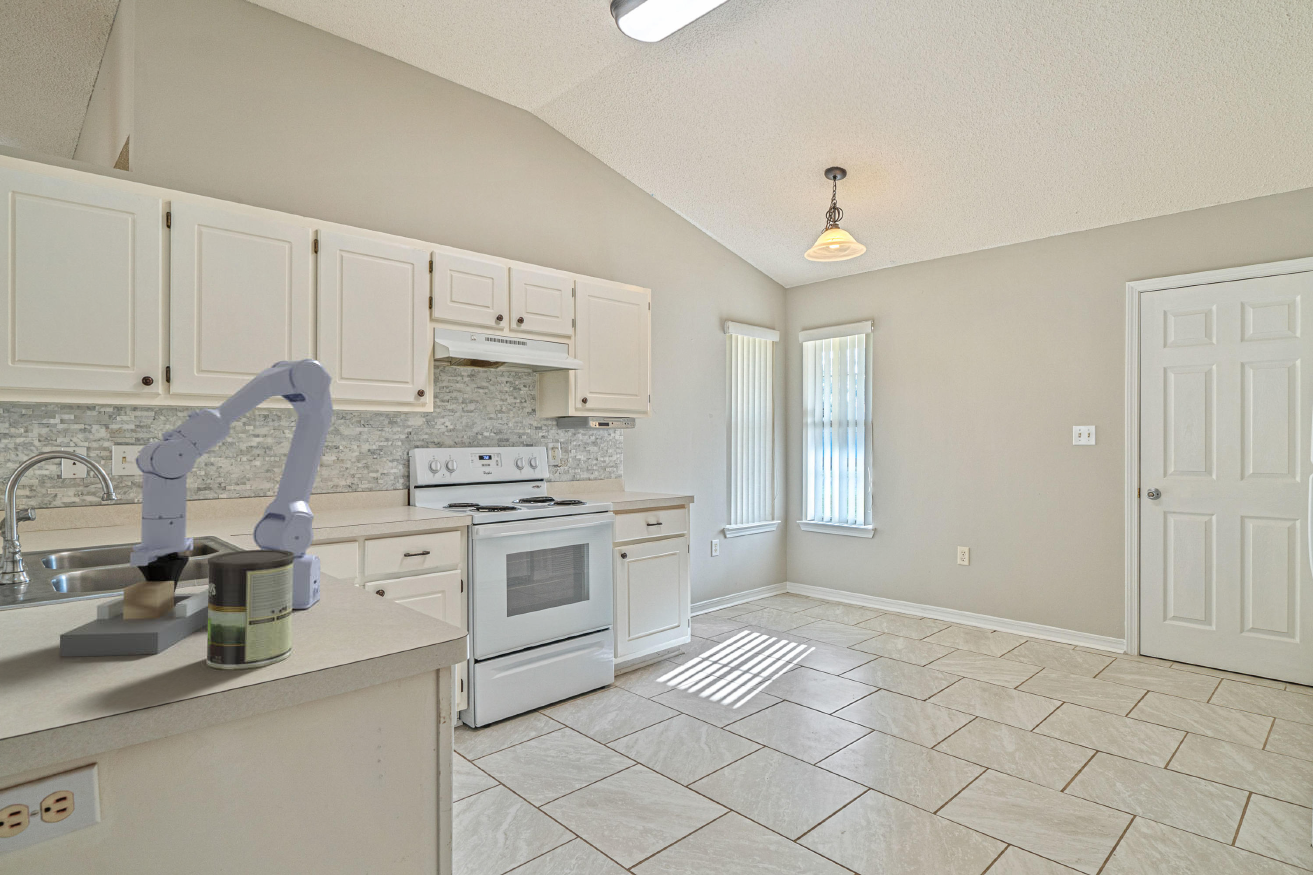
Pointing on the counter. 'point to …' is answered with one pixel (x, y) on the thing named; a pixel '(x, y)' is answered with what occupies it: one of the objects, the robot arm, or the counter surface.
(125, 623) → the grey railed base
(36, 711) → the counter surface
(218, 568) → the coffee can
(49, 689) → the counter surface
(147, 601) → the block
